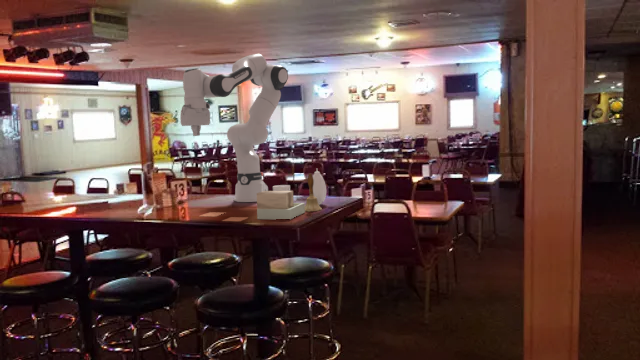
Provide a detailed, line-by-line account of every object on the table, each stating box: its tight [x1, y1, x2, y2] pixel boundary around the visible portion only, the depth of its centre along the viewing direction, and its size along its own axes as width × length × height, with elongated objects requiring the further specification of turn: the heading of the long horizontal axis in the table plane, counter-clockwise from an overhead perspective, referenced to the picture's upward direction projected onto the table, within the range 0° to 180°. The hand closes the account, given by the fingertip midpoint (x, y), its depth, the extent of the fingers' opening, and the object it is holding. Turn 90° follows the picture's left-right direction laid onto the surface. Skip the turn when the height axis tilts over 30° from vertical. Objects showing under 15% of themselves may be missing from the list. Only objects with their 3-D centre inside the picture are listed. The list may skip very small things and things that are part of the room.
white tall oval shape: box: [308, 169, 327, 206], centre depth 255 cm, size 8×8×18 cm
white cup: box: [272, 184, 291, 191], centre depth 250 cm, size 8×8×10 cm
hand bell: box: [305, 173, 323, 212], centre depth 240 cm, size 8×8×16 cm
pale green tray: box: [256, 202, 306, 220], centre depth 228 cm, size 18×14×4 cm
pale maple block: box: [256, 190, 295, 210], centre depth 229 cm, size 8×13×10 cm, turn 72°
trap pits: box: [198, 211, 249, 222], centre depth 231 cm, size 20×24×1 cm
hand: (196, 135), depth 249 cm, fingers closed
